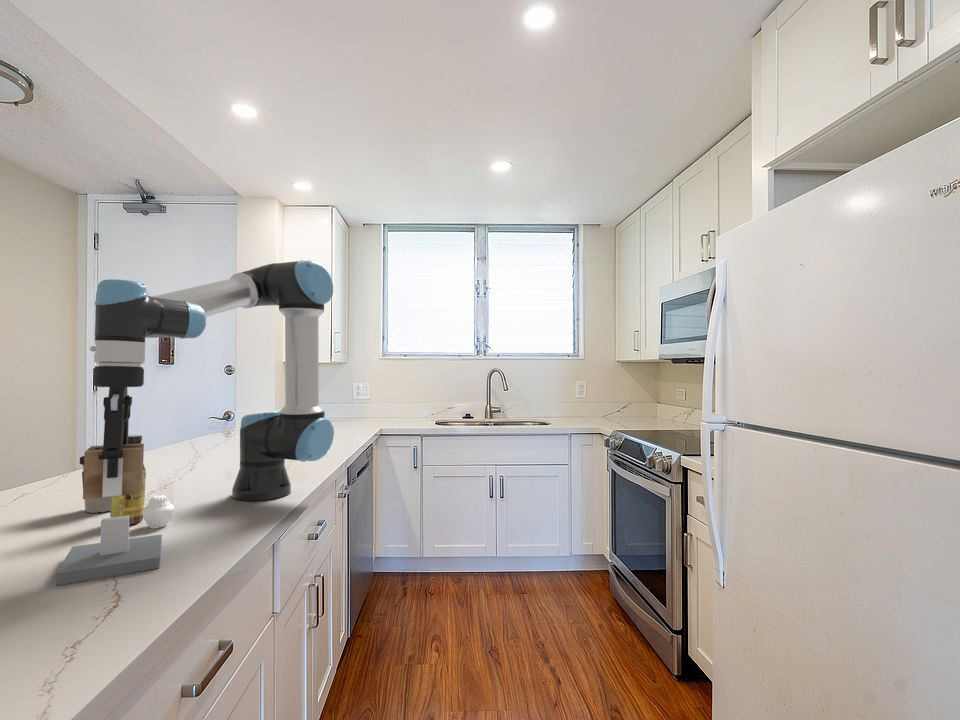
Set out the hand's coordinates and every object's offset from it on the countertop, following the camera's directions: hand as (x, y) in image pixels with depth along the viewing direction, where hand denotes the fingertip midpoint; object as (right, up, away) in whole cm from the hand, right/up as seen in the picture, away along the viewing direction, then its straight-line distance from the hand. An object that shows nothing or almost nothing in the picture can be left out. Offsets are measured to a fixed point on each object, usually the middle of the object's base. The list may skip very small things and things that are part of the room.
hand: (114, 490), depth 89 cm
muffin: (-6, -14, +21) cm, 26 cm away
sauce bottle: (-14, -14, +23) cm, 30 cm away
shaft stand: (0, -13, 0) cm, 13 cm away
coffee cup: (-28, -14, +33) cm, 45 cm away
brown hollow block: (0, 0, 0) cm, 0 cm away
